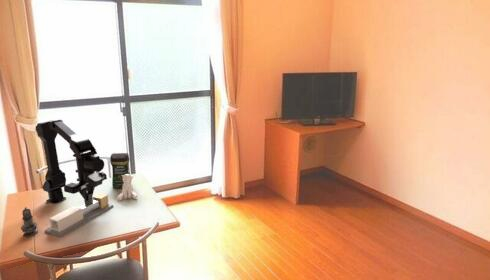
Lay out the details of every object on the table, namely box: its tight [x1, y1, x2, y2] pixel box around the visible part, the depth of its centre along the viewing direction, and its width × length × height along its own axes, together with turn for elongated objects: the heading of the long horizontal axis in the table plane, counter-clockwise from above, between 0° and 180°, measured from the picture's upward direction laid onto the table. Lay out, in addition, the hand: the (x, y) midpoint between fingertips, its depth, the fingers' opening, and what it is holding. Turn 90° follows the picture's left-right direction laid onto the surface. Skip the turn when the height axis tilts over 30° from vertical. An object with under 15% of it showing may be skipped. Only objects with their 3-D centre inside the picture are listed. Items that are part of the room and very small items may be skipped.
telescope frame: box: [44, 192, 114, 238], centre depth 154 cm, size 9×29×6 cm, turn 156°
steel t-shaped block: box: [78, 192, 101, 215], centre depth 155 cm, size 3×17×8 cm, turn 156°
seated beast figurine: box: [116, 173, 138, 201], centre depth 175 cm, size 10×9×12 cm
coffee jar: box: [109, 152, 131, 189], centre depth 186 cm, size 10×8×19 cm
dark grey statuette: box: [20, 206, 39, 238], centre depth 141 cm, size 6×6×12 cm
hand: (88, 199), depth 157 cm, fingers closed on steel t-shaped block, 2 cm apart
